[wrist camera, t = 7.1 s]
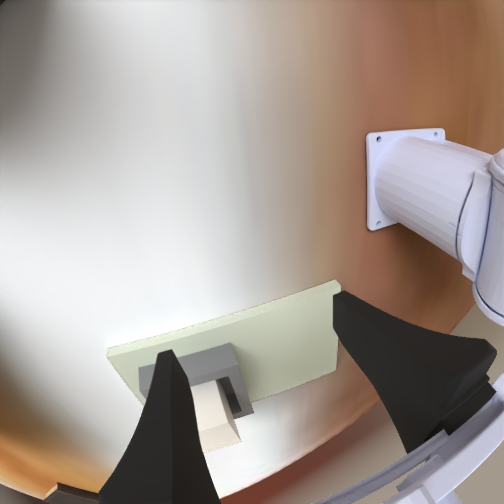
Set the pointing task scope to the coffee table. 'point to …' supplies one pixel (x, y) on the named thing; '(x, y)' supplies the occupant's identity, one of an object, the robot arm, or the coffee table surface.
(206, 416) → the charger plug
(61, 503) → the hardcover book
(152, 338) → the plate
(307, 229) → the coffee table surface
